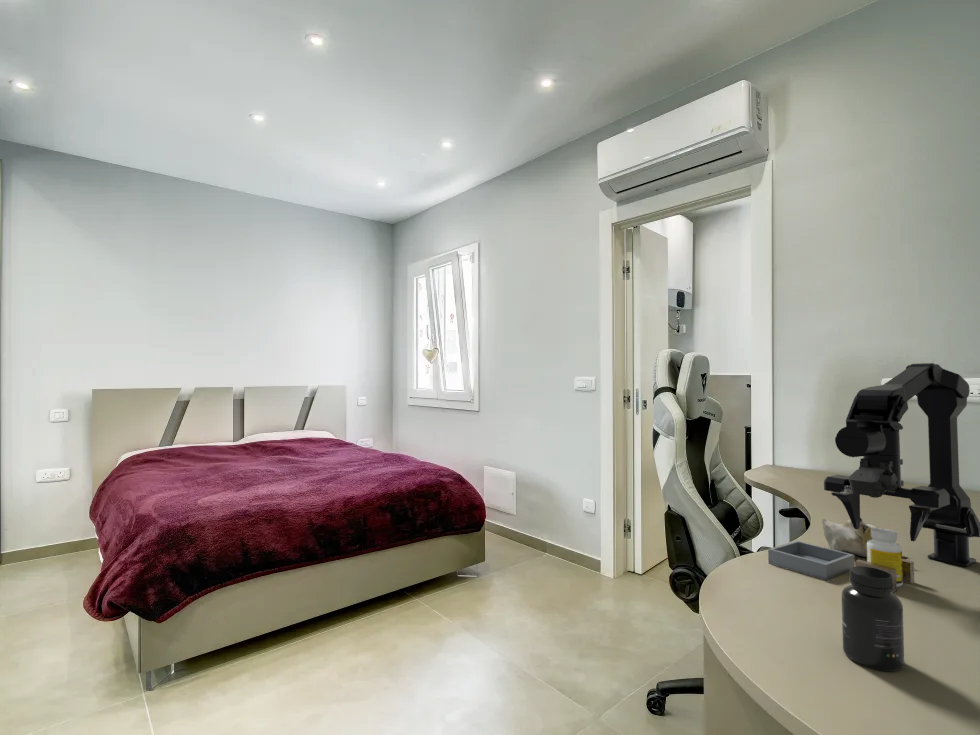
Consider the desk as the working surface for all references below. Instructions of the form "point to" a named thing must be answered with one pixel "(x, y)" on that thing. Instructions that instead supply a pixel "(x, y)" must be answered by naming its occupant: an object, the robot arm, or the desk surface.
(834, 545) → the ceramic sculpture
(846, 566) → the tray
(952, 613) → the desk surface
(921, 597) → the desk surface
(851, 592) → the supplement bottle
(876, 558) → the supplement bottle
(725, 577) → the desk surface
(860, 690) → the desk surface
